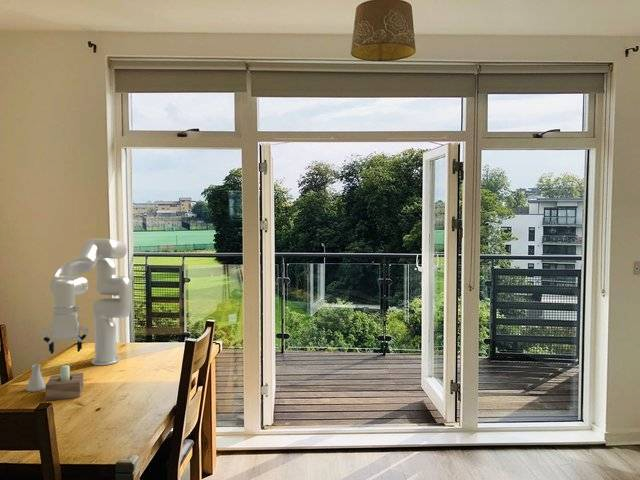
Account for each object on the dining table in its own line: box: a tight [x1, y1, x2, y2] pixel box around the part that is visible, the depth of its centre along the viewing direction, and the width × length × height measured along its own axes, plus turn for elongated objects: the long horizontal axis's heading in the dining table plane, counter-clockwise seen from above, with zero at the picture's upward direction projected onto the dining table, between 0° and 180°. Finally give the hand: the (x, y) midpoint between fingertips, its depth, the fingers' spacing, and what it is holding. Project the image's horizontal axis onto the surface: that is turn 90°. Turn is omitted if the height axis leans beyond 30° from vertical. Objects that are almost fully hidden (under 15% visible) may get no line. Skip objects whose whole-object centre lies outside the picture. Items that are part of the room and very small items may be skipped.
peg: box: [59, 364, 71, 381], centre depth 197 cm, size 3×3×10 cm
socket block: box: [45, 372, 84, 401], centre depth 197 cm, size 12×12×6 cm
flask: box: [25, 363, 47, 393], centre depth 201 cm, size 7×7×10 cm
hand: (65, 351), depth 197 cm, fingers open, 9 cm apart
